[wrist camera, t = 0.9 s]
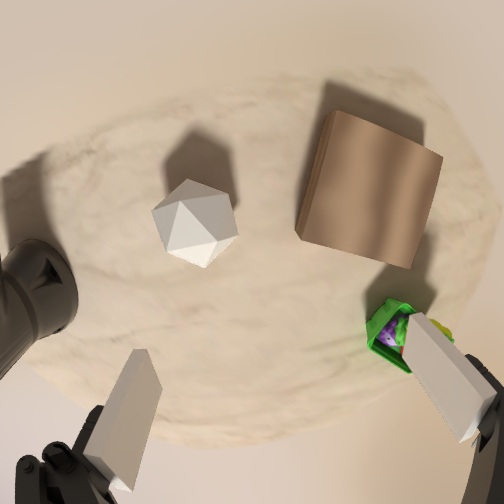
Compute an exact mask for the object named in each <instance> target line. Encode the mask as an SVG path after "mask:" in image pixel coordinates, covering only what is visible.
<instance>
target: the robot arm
mask: <svg viewBox="0 0 504 504" xmlns="http://www.w3.org/2000/svg"><path fill="white" fill-rule="evenodd" d="M77 308H78V294H77V288H76V285H75V281H74V278H73V276H72V274H71V271H70V269H69V268H68V266H67V264H66V263H65V261H64V260H63V258H62V257H61V256H60V255H59V253H58V252H57V251H56V250H55V249H54V248H52V247H51V246H50V245H48V244H47V243H45V242H43V241H40V240H36V239H30V240H26V241H24V242H22V243H20V244H18V245H16V246H15V247H14V248H12V249H11V251H10V252H9V254H8V255H7V256H6V257H5V258H4V260H3V261H2V262H1V256H0V380H1V379H2V378H3V377H4V375H5V374H6V373H7V372H8V371H9V370H10V368H11V367H12V366H13V365H14V364H15V363H16V362H17V360H19V358H20V357H21V356H22V355H23V354H24V353H25V352H26V351H27V350H28V349H29V348H30V346H31V345H32V344H33V343H34V342H36V341H37V340H39V339H42V338H45V337H48V336H50V335H52V334H56V333H59V332H61V331H62V330H64V329H65V328H66V327H67V326H68V325H69V324H70V323H71V322H72V321H73V319H74V318H75V315H76V313H77ZM402 358H403V359H404V361H405V362H406V364H407V365H408V366H409V368H410V369H411V371H412V372H413V374H414V375H415V377H416V378H417V379H418V381H419V382H420V384H421V385H422V387H423V388H424V390H425V391H426V393H427V394H428V396H429V397H430V399H431V400H432V402H433V403H434V405H435V406H436V408H437V409H438V411H439V413H440V414H441V415H442V417H443V419H444V420H445V422H446V423H447V425H448V427H449V428H450V430H451V431H452V433H453V435H454V436H455V438H456V439H457V441H458V443H460V442H462V441H464V440H466V439H468V438H470V437H472V435H473V434H474V432H475V431H476V429H477V428H478V429H479V431H480V433H479V435H478V436H477V438H476V439H475V441H474V442H473V444H472V446H471V447H474V445H475V444H476V443H477V444H476V449H475V454H474V459H473V464H472V468H471V472H470V476H469V479H468V483H467V487H466V490H465V493H464V496H463V499H462V503H461V504H504V387H503V386H502V385H501V384H500V382H499V381H498V380H497V379H496V378H495V377H494V376H493V375H492V374H491V373H490V372H488V369H487V368H486V367H484V366H483V364H482V363H481V362H480V361H479V360H478V359H477V358H475V357H474V356H472V355H470V354H467V355H465V356H464V355H463V354H462V353H461V352H460V351H459V350H458V349H457V348H456V346H455V345H454V344H453V343H452V342H451V341H450V340H449V339H448V338H447V337H446V336H445V335H444V334H443V333H442V332H441V331H440V330H439V329H438V328H437V327H436V326H435V325H434V324H433V323H432V322H431V321H430V320H429V319H428V318H427V317H426V316H425V315H424V314H423V313H422V312H420V313H416V314H412V315H410V316H409V322H408V328H407V334H406V340H405V345H404V350H403V355H402ZM161 392H162V387H161V384H160V382H159V380H158V377H157V375H156V372H155V369H154V367H153V364H152V362H151V359H150V356H149V354H148V351H147V349H133V351H132V353H131V355H130V357H129V358H128V360H127V362H126V364H125V366H124V368H123V370H122V372H121V374H120V376H119V378H118V380H117V382H116V384H115V386H114V388H113V390H112V392H111V394H110V396H109V398H108V400H107V402H106V404H105V406H101V405H97V406H96V407H95V408H94V409H93V410H92V411H91V412H90V413H89V415H88V417H87V419H86V423H84V425H83V427H82V429H81V431H80V433H79V435H78V437H77V439H76V441H75V444H74V446H73V448H72V450H71V449H70V448H69V447H68V446H67V445H66V444H65V443H63V442H58V441H56V442H52V443H50V444H48V445H47V446H46V447H45V449H44V450H43V453H42V459H43V460H44V461H45V463H44V462H40V461H39V460H38V459H37V458H36V457H34V456H32V455H25V456H23V457H22V458H20V459H19V461H18V462H17V465H16V478H15V504H117V502H116V500H115V498H114V497H113V495H112V493H111V491H110V490H109V489H108V488H109V485H110V483H111V484H112V485H113V486H114V487H115V488H116V489H120V490H125V491H130V492H133V489H134V486H135V481H136V478H137V474H138V471H139V467H140V463H141V459H142V456H143V452H144V449H145V445H146V442H147V438H148V435H149V432H150V428H151V425H152V421H153V418H154V415H155V412H156V408H157V405H158V402H159V399H160V395H161Z"/></svg>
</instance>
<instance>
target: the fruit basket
mask: <svg viewBox="0 0 504 504" xmlns="http://www.w3.org/2000/svg"><path fill="white" fill-rule="evenodd" d="M416 313H418V312H417V311H416V310H414V309H413V308H412V307H411V306H410V305H409V304H407V303H404V302H399V301H397V300H394V299H392V298H388V299H387V300H386V302H385V304H383V305H382V306H381V307H380V308H379V309H378V310H377V312H376V313H375V314H374V315H373V316H372V318H371V320H369V321H368V322H367V323H366V329H367V337H368V340H367V347H368V349H370V350H371V351H373V352H375V353H376V354H378V355H379V356H381V357H383V358H384V359H386V360H387V361H389V362H390V363H392V364H393V365H395V366H397V367H398V368H400V369H401V370H403V371H404V372H406V373H408V374H411V373H413V372H412V371H411V369H410V368H409V366H408V365H407V364H406V362H405V361H404V359H403V358H402V355H403V350H404V345H405V340H406V334H407V328H408V322H409V316H410V315H412V314H416ZM429 320H430V321H431V322H432V323H433V324H434V325H435V326H436V327H437V328H438V329H439V330H440V331H441V332H442V333H443V334H444V335H445V336H446V337H447V338H448V339H449V340H450V341H451V342H452V343H454V339H452V333H451V331H450V330H449V329H448V328H446V327H443V326H442V325H441V324H440V323H438V322H437V321H435V320H433V319H429Z"/></svg>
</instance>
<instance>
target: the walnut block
mask: <svg viewBox="0 0 504 504" xmlns="http://www.w3.org/2000/svg"><path fill="white" fill-rule="evenodd" d="M442 161H443V157H442V156H440V155H438V154H436V153H435V152H433V151H431V150H429V149H427V148H425V147H423V146H421V145H419V144H417V143H415V142H413V141H411V140H409V139H407V138H405V137H403V136H400V135H398V134H396V133H394V132H392V131H389V130H387V129H385V128H383V127H380V126H378V125H376V124H373V123H371V122H368V121H366V120H363V119H361V118H358V117H356V116H353V115H350V114H348V113H345V112H342V111H339V110H335V111H334V112H332V113H330V114H329V115H327V116H326V117H325V121H324V125H323V129H322V133H321V136H320V140H319V144H318V148H317V152H316V156H315V159H314V163H313V167H312V171H311V174H310V178H309V182H308V185H307V189H306V192H305V196H304V199H303V203H302V207H301V210H300V214H299V217H298V221H297V224H296V227H295V231H296V233H297V234H298V236H299V238H300V239H301V240H303V241H306V242H310V243H314V244H318V245H322V246H326V247H329V248H333V249H337V250H341V251H344V252H348V253H352V254H356V255H359V256H363V257H367V258H370V259H374V260H378V261H381V262H385V263H388V264H392V265H396V266H399V267H403V268H406V269H410V268H411V265H412V262H413V260H414V257H415V254H416V251H417V249H418V246H419V243H420V240H421V237H422V234H423V231H424V228H425V225H426V222H427V218H428V215H429V212H430V208H431V205H432V201H433V198H434V194H435V190H436V186H437V182H438V178H439V174H440V170H441V166H442Z"/></svg>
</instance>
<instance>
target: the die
mask: <svg viewBox="0 0 504 504" xmlns="http://www.w3.org/2000/svg"><path fill="white" fill-rule="evenodd" d="M151 212H152V215H153V218H154V220H155V223H156V226H157V229H158V231H159V234H160V237H161V239H162V242H163V245H164V247H165V250H166V252H168V253H170V254H172V255H175V256H177V257H179V258H182V259H184V260H186V261H189V262H191V263H193V264H195V265H198V266H200V267H202V268H205V267H206V266H207V265H208V264H210V263H211V262H212V261H213V260H214V259H215V258H216V257H217V256H218V255H219V254H220V253H221V252H222V251H223V250H224V249H225V248H226V247H227V246H228V245H229V244H230V243H231V242H232V241H233V240H234V239H235V238H236V237H237V236H239V234H238V230H237V226H236V222H235V218H234V214H233V211H232V207H231V203H230V199H229V195H228V193H225V192H223V191H220V190H217V189H215V188H212V187H209V186H206V185H204V184H201V183H198V182H195V181H193V180H190V179H186V180H185V181H184V182H183V183H181V184H180V185H179V186H178V187H177V188H176V189H175V190H174V191H172V192H171V193H170V194H169V195H168V196H167V197H166V198H165V199H164V200H163V201H162V202H161V203H159V204H158V205H157V206H156V207H155V208H154V209H153V210H152V211H151Z"/></svg>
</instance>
